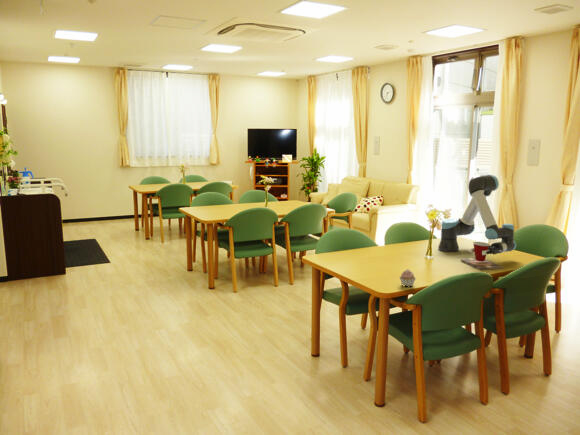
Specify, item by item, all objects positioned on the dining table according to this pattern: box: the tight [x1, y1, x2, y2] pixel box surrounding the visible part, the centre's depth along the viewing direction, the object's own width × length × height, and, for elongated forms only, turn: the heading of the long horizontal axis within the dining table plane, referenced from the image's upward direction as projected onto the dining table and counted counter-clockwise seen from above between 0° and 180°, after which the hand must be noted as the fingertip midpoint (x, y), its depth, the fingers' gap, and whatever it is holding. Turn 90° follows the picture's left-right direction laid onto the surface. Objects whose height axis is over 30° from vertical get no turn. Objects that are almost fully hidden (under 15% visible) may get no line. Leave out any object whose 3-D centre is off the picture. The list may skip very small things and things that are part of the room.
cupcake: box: [399, 268, 417, 287], centre depth 268 cm, size 9×9×10 cm
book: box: [460, 257, 504, 271], centre depth 312 cm, size 24×16×2 cm, turn 10°
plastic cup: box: [472, 241, 491, 261], centre depth 309 cm, size 11×11×12 cm
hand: (476, 251), depth 307 cm, fingers closed on plastic cup, 8 cm apart
